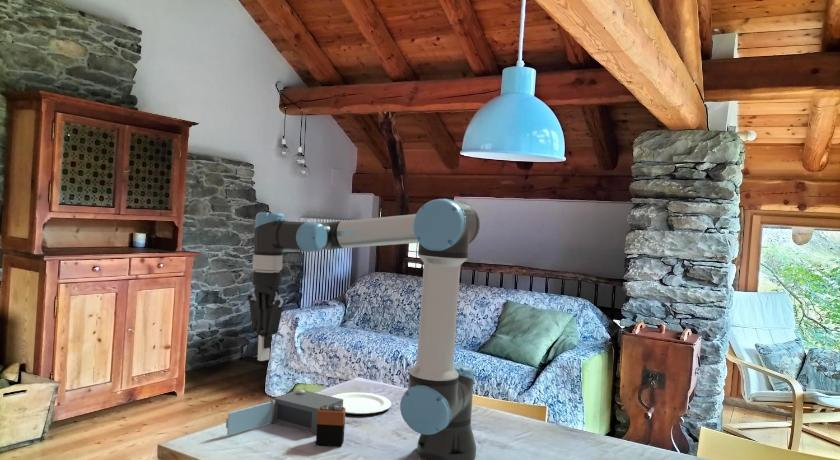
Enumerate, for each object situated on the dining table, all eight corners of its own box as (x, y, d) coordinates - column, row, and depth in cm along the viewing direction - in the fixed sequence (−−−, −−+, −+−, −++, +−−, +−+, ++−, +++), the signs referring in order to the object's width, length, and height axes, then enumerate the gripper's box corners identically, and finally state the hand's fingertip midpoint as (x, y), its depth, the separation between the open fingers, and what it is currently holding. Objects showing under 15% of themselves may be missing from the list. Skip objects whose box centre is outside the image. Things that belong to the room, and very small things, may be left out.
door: (229, 437, 155) (230, 412, 155) (225, 435, 156) (226, 411, 156) (274, 423, 167) (276, 400, 167) (270, 421, 168) (272, 399, 168)
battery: (341, 447, 153) (343, 408, 153) (315, 446, 153) (317, 407, 153) (344, 441, 157) (346, 403, 157) (318, 439, 157) (320, 402, 157)
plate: (320, 398, 194) (320, 393, 194) (382, 395, 200) (382, 390, 200) (330, 420, 174) (330, 414, 174) (399, 416, 180) (399, 411, 180)
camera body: (348, 425, 169) (349, 397, 169) (324, 436, 160) (326, 407, 160) (297, 412, 178) (299, 386, 178) (272, 422, 168) (274, 395, 168)
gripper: (295, 272, 156) (290, 362, 156) (263, 268, 164) (259, 353, 164) (272, 273, 150) (267, 366, 150) (240, 269, 158) (236, 357, 158)
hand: (263, 359), depth 157 cm, fingers closed
